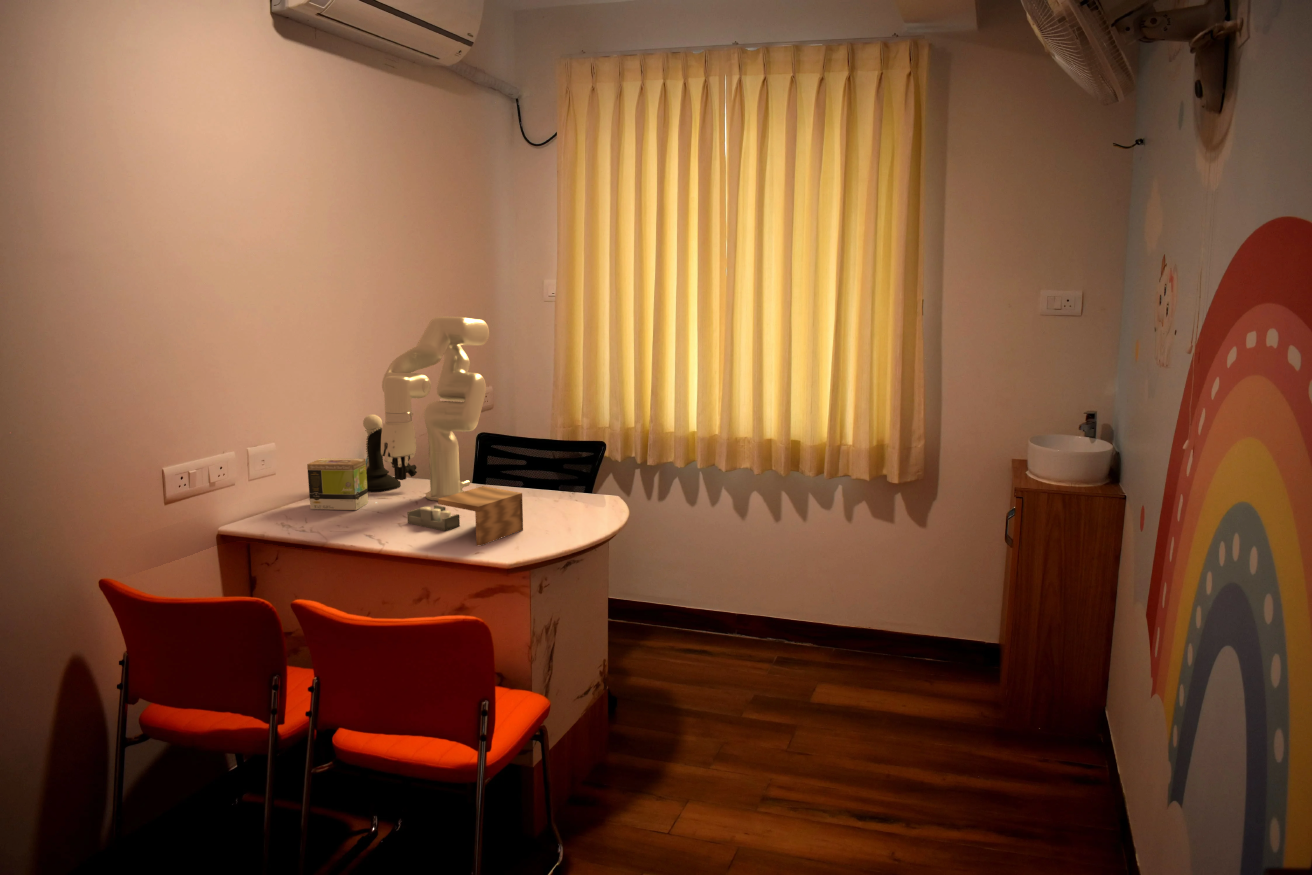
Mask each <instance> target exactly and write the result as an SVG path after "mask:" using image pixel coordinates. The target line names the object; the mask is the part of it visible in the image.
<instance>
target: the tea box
mask: <svg viewBox="0 0 1312 875" xmlns="http://www.w3.org/2000/svg"><path fill="white" fill-rule="evenodd" d="M366 465H367V461H366V458H341V457H340V458H336V457H332V458H331V457H329V458H327V457H325V458H324V457H323V458H319V459H316V460H314V461H312V462H310V463H307V465H306V466H307V467H306V469H307V480H308V482H307V483H308V494H309V495H308V496H309V506H310V510H327V511H329V510H333V511H334V510H336V511H337V510H339V511H340V510H341V511H357V510H359V509H362V508H363V507H365V506H366V505H367V504H368V503H369V492H368V489H367V475H366Z"/></svg>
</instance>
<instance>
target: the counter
mask: <svg viewBox="0 0 1312 875" xmlns="http://www.w3.org/2000/svg"><path fill="white" fill-rule="evenodd" d="M463 491H464V492H461V493H457V494H454V495H450V496H447V497H443V498H440V499H438V501H437V504H438V505H439V506H444V507H452V508H456V509H462V510H466V511H471V512H474V515H475V540H476V544H475V545H476V546H478V545H481V546H484V545H486V543H487V544H489V543H491V541H492V542H494V541H493V540H495V541H497V540H499V538H500V539H502V538H501V537H503V538H505V537H504V536H506V537H508V536H511V535H513V534H512V533H514V534H516V533H515V532H517V533H519V532H521V531H520V530H522V531H523V530H524V514H523V513H524V512H523V507H524V506H523V492H518V491H513V490H508V489H507V490H506V489H502V488H496V487H490V486H485V485H483V486H478V487H475V488H472V489H468V490H463ZM518 531H519V532H518ZM510 534H511V535H510ZM507 535H508V536H507ZM496 539H497V540H496ZM488 542H489V543H488ZM483 544H484V545H483Z"/></svg>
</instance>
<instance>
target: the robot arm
mask: <svg viewBox="0 0 1312 875" xmlns="http://www.w3.org/2000/svg"><path fill="white" fill-rule="evenodd" d="M489 338H490V329H489V325H488V323H486V321H485V320H483V319H479V318H471V317H465V316H464V317H463V316H436V317H433V318H432V319H431V320H430V322H429V323H428V324H427V326H426V328H425V329H424V332H423V333H422V335H421V337H420V338H419V340H418V342H417V343H416V346H414V347H412V348H410V349H409V350H407V351H405V352H404V353H402V354H400V355H399V356H397V357H396V358H395V359H393V361H392V362H391V363H390V364H389V366H388V367H387V368H386V371H385V373H384V375H383V377H382V381H381V388H382V392H383V398H384V401H383V402H384V420H385V422H384V423H382V426H381V427H382V434H381V455H382V456H383V457H384V458H383V462H386V463H391V465H393V466H394V468H393V469H394V477H395V479H397V480H398V481H404V480H407V473H406V466H407V465H408V463H409V461H410V460H411V459H413V458H414V457H415V456H416V454H415V453H416V451H417V440H416V439H417V437H416V429H415V426H414V421H413V418H412V417H413V416H414V413H413V412H412V399H423V398H425V397H427V396H428V394H430V392H431V389H432V383H431V380H430V378H429V377H428V376H427V375H425V374H424V373H417V372H416V371H419V370H424V369H426V368H430V367H432V366H434V365H437V364H439V362H440V361H441V360H442V358H443V362H442V366H441V370H440V374H439V376H438V377H439V378H438V380H437V384H436V385H437V386H436V395H437V396H438V397H439V398H440V399H441V400H436V401H434V400H433V401H432V402H429V403H428V404H427V405H426V406H425V408H424V411H423V418H424V423H425V427H426V432H427V440H428V443H427V444H428V459H429V460H428V461H429V462H428V463H429V466H428V468H429V491H427V492H426V493H425V498H426V500H431V501H437V502H438V499H440V498H443V497H447V496H450V495H454V494H457V493H461V492H464V491H465V490H463V488H466V487H469V486H470V485H471V482H470V480H469V479H467V480H464V481H463V480H461V479H460V454H459V450H460V448H459V441H458V438H457V436H456V435H455V433H454V432H466V433H467V432H473V431H474V430H475V429H476V428H477V426H478V424H479V420H480V416H481V413H482V409H483V406H484V402H485V397H486V393H487V384H486V380H485V378H484V376H482V375H481V373H477V372H469V369H470V365H471V360H470V359H469V357H468V354H467V353H466V351H465V350H464V349H463V347H462V346H483V345H485V344H486V343H487V342H488V340H489ZM415 372H416V373H415ZM396 459H397V460H396Z"/></svg>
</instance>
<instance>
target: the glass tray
mask: <svg viewBox="0 0 1312 875" xmlns="http://www.w3.org/2000/svg"><path fill="white" fill-rule="evenodd" d="M406 513H407V524H410V525H415V526H421V527H423V528H430V529H434V530H438V531H442V532H446V531H449V530H452V529H455V528H458V527H461V525H460V524H461V523H460V522H461V521H460V520H461V519H460V514H459V513H456V514H453V515H452V511H451V510H446V506H444V505H439V504H438V505H437V504H434V505H433V508H432V507H431V506H422V507H418V508H416V509H411V510H408V511H406Z"/></svg>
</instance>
